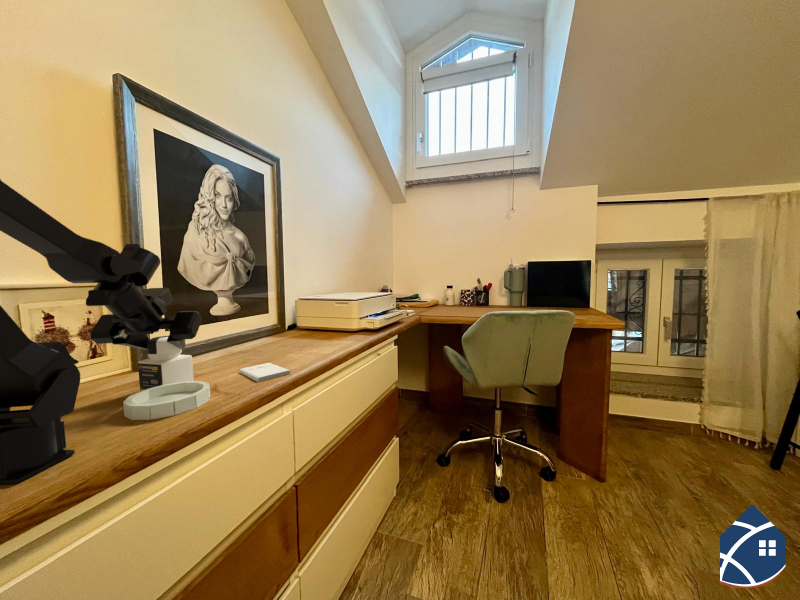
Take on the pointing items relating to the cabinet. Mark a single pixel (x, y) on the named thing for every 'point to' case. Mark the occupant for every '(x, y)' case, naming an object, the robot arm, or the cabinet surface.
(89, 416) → the cabinet surface
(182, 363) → the medicine bottle
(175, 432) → the cabinet surface
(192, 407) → the pale green round tray
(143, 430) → the cabinet surface
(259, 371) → the external hard drive
